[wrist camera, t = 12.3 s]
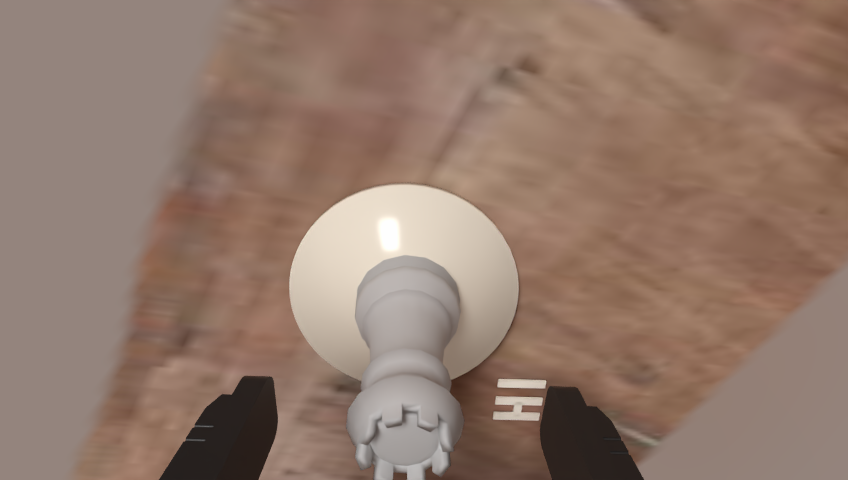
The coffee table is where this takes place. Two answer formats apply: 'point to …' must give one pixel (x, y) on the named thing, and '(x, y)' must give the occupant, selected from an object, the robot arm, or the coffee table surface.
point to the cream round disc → (391, 237)
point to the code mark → (518, 400)
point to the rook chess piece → (406, 369)
